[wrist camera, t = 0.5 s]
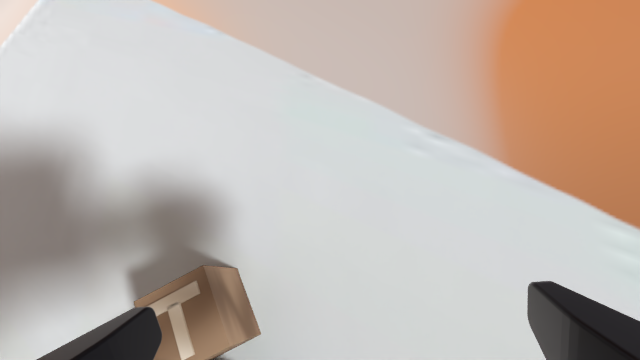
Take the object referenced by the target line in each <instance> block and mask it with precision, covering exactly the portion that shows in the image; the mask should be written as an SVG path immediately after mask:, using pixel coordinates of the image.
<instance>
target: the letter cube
mask: <svg viewBox="0 0 640 360" xmlns="http://www.w3.org/2000/svg"><path fill="white" fill-rule="evenodd" d="M134 305H135V308H136V307H148V306H149V307H152V308H153V309H154V311H155V314H156V317H157V319H158V322H159V325H160V328H161V331H162V341H161V344H160V346H159V348H158V351H157V353H156V355H155V357H154V359H153V360H212V359H214V358H216V357H218V356H220V355H222V354H223V353H225V352H227V351H229V350H231V349H233V348H235V347H237V346H239V345H241V344H243V343H245V342H247V341H249V340H251V339H253V338H254V337H256V336H258V335H260V334H261V332H260V329H259V327H258V324H257V321H256V319H255V316H254V313H253V310H252V308H251V305H250V302H249V299H248V297H247V294H246V291H245V289H244V286H243V283H242V280H241V278H240V275H239V272H238V269H236V268H226V267H216V266H206V265H203V266H201V267H199V268H197V269H195V270H193V271H191V272H189V273H187V274H186V275H184V276H182V277H180V278H178V279H176V280H174V281H172V282H170V283H169V284H167V285H165V286H163V287H161V288H159V289H157V290H155V291H153V292H152V293H150V294H148V295H146V296H144V297H142V298H140V299H138V300H136V301H135V302H134Z"/></svg>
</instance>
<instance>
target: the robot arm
mask: <svg viewBox="0 0 640 360" xmlns="http://www.w3.org/2000/svg"><path fill="white" fill-rule="evenodd" d="M528 320H529V324H530V326H531V329H532V331H533V333H534V335H535V337H536V339H537V341H538V343H539V345H540V347H541V350H542V352H543V354H544V356H545V358H546V360H640V321H638V320H635V319H633V318H631V317H629V316H627V315H624V314H622V313H620V312H618V311H616V310H613V309H611V308H609V307H607V306H605V305H602V304H600V303H598V302H596V301H594V300H592V299H589V298H587V297H585V296H583V295H581V294H578V293H576V292H574V291H572V290H570V289H567V288H565V287H563V286H561V285H559V284H556V283H554V282H552V281H542V282H531V283H530V284H529V286H528ZM161 341H162V331H161V328H160V325H159V322H158V319H157V317H156V314H155V311H154V309H153V308H152V307H149V306H148V307H136V308H133V309H131V310H129V311H127V312H125V313H124V314H122V315H120V316H118V317H116V318H114V319H112V320H110V321H108V322H107V323H105V324H103V325H101V326H99V327H97V328H95V329H93V330H92V331H90V332H88V333H86V334H84V335H82V336H80V337H78V338H76V339H75V340H73V341H71V342H69V343H67V344H65V345H63V346H61V347H59V348H58V349H56V350H54V351H52V352H50V353H48V354H46V355H44V356H42V357H41V358H39V359H37V360H153V359H154V357H155V355H156V353H157V351H158V348H159V346H160V344H161Z"/></svg>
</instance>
